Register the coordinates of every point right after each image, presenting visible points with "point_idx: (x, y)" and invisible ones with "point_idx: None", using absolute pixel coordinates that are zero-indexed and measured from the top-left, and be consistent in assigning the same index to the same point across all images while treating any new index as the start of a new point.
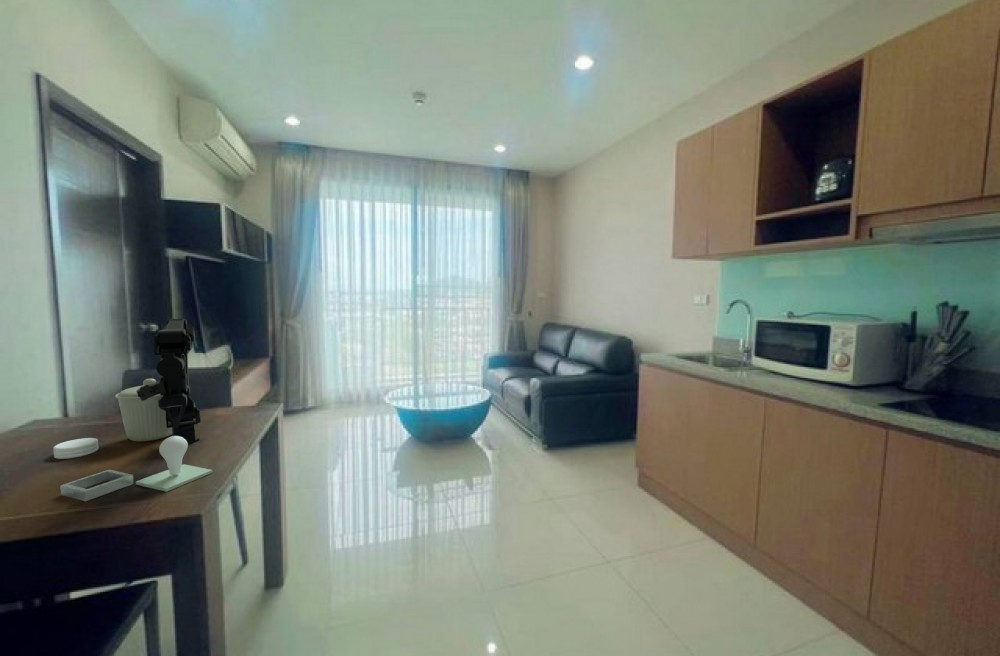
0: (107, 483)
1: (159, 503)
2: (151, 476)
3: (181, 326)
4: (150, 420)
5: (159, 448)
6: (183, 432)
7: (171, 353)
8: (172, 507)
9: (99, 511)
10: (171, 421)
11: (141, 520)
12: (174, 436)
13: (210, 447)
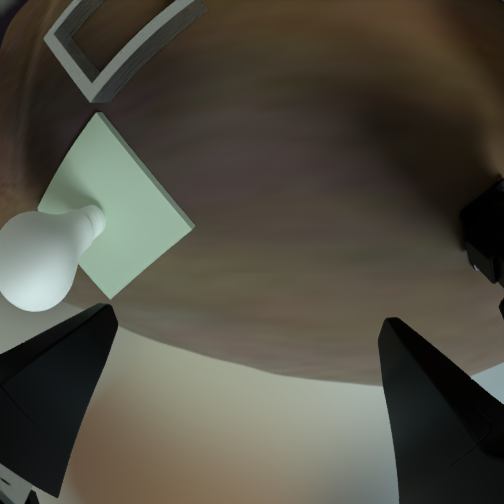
0: (62, 61)
1: (11, 204)
2: (115, 147)
3: None
4: None
5: (10, 219)
6: (495, 245)
7: None
8: (2, 227)
9: (13, 104)
10: (55, 329)
11: None
12: (4, 291)
13: (374, 300)
